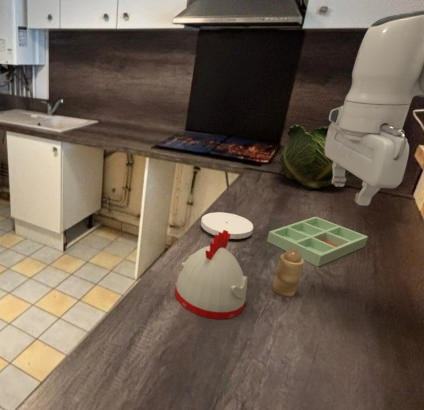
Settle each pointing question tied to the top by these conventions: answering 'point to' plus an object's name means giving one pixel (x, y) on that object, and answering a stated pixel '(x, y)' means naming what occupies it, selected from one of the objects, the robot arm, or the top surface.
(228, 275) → the kitchen timer
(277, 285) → the beige toy figure
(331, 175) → the cabbage
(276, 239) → the grid
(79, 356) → the top surface
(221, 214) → the plastic lid
